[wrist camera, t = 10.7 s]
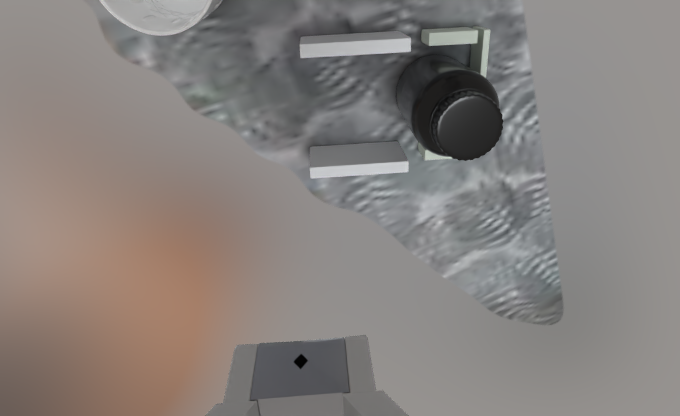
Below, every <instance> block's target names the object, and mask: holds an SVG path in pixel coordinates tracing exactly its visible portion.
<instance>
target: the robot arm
mask: <svg viewBox="0 0 680 416" xmlns="http://www.w3.org/2000/svg"><path fill="white" fill-rule="evenodd" d="M205 416H408V415H407V414H406V413H405V412H404V411H403V410H402V409H401V408H400V407H399V406H398V405H397V404H396V403H395V402H394V401H393V400H392V399H391V398H390V397H389V396H388V395H387V394H386V393H385V392H384V391H376V387H375V381H374V374H373V368H372V362H371V357H370V350H369V344H368V338H367V336H366V335H361V336H350V337H345V340H344V337H343V338H332V339H331V338H330V339H319V340H307V341H294V342H275V343H260V344H247V345H237V346H236V348H235V350H234V353H233V358H232V363H231V368H230V372H229V378H228V382H227V387H226V391H225V396H224V401H223V403H221V404H216V405H215V406H214V407H213V408H212V409H211V410H210V411H209V412H208V413H207V414H206V415H205Z"/></svg>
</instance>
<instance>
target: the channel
mask: <svg viewBox="0 0 680 416" xmlns="http://www.w3.org/2000/svg"><path fill="white" fill-rule="evenodd" d="M299 45H300V57H301V58H315V57H332V56H348V55H365V54H382V53H399V52H411V38H410V37H408V36H407V35H405V34H403V33H402V32H400V31H387V32H370V33H352V34H335V35H318V36H301V39H300V44H299ZM408 163H409V161H408V159H407V157H406V156H405V154H404V152H403V150H402V148H401V146H400V144H399V142H398V141H391V142H375V143H360V144H344V145H329V146H313V147H310V176H311V178H326V177H341V176H356V175H371V174H386V173H401V172H408Z"/></svg>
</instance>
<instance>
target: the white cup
mask: <svg viewBox="0 0 680 416" xmlns="http://www.w3.org/2000/svg"><path fill="white" fill-rule="evenodd" d="M222 1H223V0H100V2H101V3H102V4H103V6H104V7H105V8H106V9H107V10H108V11H109V12H110V13H111V14H112V15H113V16H114V17H115V18H116V19H118V20H119V21H120V22H122V23H123V24H125V25H127V26H128V27H130V28H132V29H134V30H137V31H139V32H142V33H146V34H150V35H158V36H165V35H173V34H177V33H180V32H183V31H185V30H187V29H189V28H190V27H192V26H194V25H195V24H197V23H198V22H200V21H202V20H203V19H205V18H206V17H207V16H208V15H210V14H211V13H212V12H213V11H214V10H215V9H216V8H217V7H219V5H220V4H221V2H222Z"/></svg>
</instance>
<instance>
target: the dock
mask: <svg viewBox="0 0 680 416" xmlns="http://www.w3.org/2000/svg"><path fill="white" fill-rule="evenodd" d="M489 39H490V29H487V28H483V27H479V26H473V29H472V28H469V27H456V28H439V29H422V30H421V42H423V43H424V44H426V45H428V46H439V45H456V44H471V55H470V68H471V69H472V70H474V71H476V72H478V73H479V74H481V75H482V76H484V77H485V78H486V71H487V60H488V50H489ZM418 150H419V152H420V154H421V155H422V157H423V158H424V160H438V159H453V158H452V157H445V156H440V155H437V154H434V153H432V152H430V151H428V150H427V149H425V148H424V147H423V146H422V145H421V144H420V143H419V141H418Z"/></svg>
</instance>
